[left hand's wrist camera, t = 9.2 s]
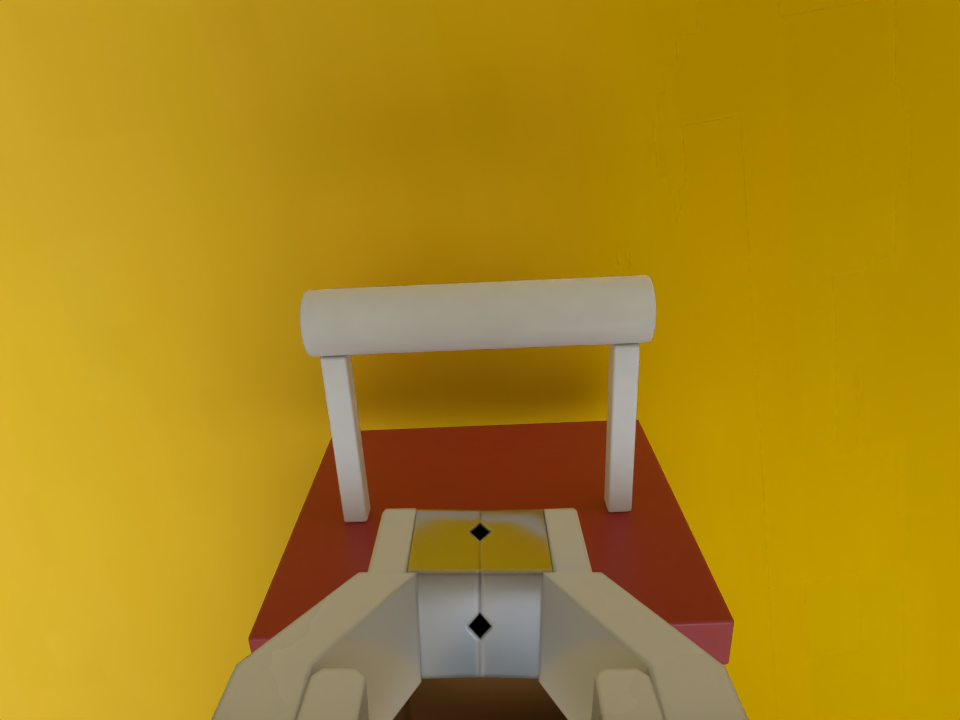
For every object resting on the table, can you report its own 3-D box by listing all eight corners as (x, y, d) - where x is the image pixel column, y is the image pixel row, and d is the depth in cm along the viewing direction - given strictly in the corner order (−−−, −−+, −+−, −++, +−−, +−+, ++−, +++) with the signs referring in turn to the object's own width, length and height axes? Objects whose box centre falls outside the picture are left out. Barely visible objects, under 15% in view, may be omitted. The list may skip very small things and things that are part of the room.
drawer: (305, 245, 19) (181, 363, 11) (649, 230, 19) (773, 338, 11) (389, 812, 29) (355, 1095, 21) (617, 805, 28) (672, 1087, 20)
